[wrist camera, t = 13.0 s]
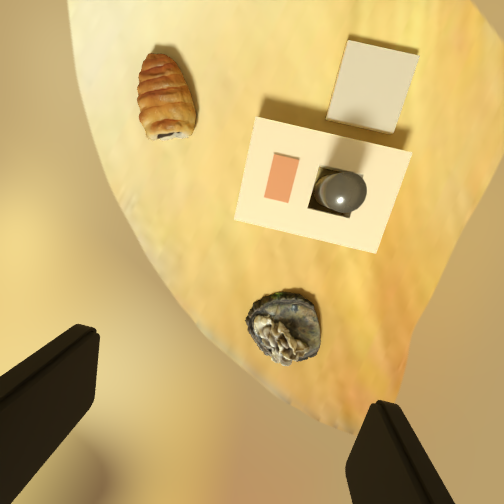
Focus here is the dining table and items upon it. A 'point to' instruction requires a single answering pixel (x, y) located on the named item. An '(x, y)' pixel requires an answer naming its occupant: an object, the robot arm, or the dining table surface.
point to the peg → (341, 191)
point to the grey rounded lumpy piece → (285, 327)
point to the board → (303, 178)
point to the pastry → (164, 99)
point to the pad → (371, 87)
